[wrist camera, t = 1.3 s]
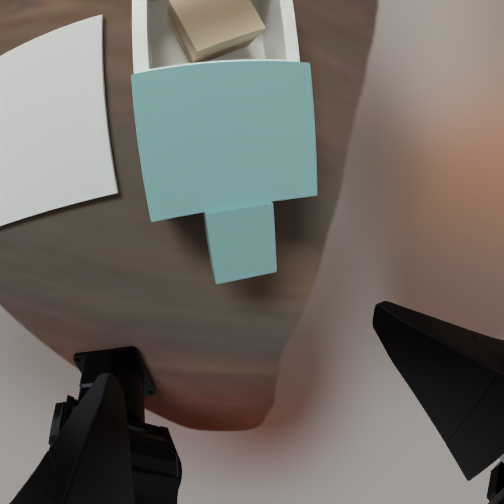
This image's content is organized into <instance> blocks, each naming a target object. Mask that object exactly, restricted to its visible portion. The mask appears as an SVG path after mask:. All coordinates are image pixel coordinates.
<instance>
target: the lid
mask: <svg viewBox="0 0 504 504" xmlns="http://www.w3.org/2000/svg"><path fill="white" fill-rule="evenodd" d="M131 81H132V94H133V105H134V115H135V124H136V132H137V140H138V148H139V155H140V162H141V168H142V174H143V180H144V186H145V192H146V198H147V203H148V208H149V213H150V218H151V222H154V221H159V220H164V219H169V218H175V217H180V216H186V215H191V214H197V213H203V216H204V223H205V230H206V236H207V243H208V249H209V256H210V262H211V268H212V273H213V276H214V279H215V282H216V284H220V283H225V282H230V281H235V280H240V279H245V278H250V277H255V276H259V275H264V274H269V273H274V272H277V264H276V244H275V225H274V208H273V203H272V201H280V200H287V199H294V198H302V197H310V196H317V162H316V138H315V120H314V105H313V92H312V80H311V69H310V63H305V62H288V61H235V62H217V63H205V64H194V65H186V66H178V67H171V68H164V69H158V70H152V71H147V72H141V73H136V74H132V75H131Z"/></svg>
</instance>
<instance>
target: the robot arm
mask: <svg viewBox="0 0 504 504" xmlns="http://www.w3.org/2000/svg"><path fill="white" fill-rule="evenodd" d="M373 328H374V330H375V331H376V333H377V335H378V337H379V339H380V340H381V342H382V344H383V346H384V348H385V350H386V351H387V353H388V355H389V357H390V358H391V360H392V362H393V363H394V365H395V366H396V368H397V369H398V371H399V372H400V373H401V375H402V377H403V378H404V379H405V381H406V382H407V384H408V385H409V387H410V388H411V390H412V391H413V393H414V394H415V396H416V397H417V399H418V400H419V402H420V404H421V405H422V407H423V408H424V410H425V411H426V413H427V414H428V416H429V417H430V419H431V421H432V422H433V424H434V425H435V427H436V429H437V430H438V432H439V433H440V435H441V436H442V438H443V440H444V441H445V443H446V445H447V447H448V448H449V450H450V452H451V453H452V455H453V457H454V458H455V460H456V462H457V463H458V465H459V467H460V468H461V470H462V472H463V474H464V475H465V477H466V479H467V480H468V481H469V480H471V479H472V478H474V477H475V476H476V475H478V474H479V473H480V472H482V471H483V470H484V469H486V468H487V467H488V466H489V465H491V464H492V463H493V462H494V461H496V460H497V459H498V458H500V459H501V461H500V462H499V463H498V464H497V465H496V466H495V468H494V469H493V470H492V471H491V475H490V482H489V487H488V493H487V498H488V500H489V501H490V502H489V503H488V504H504V340H500V339H496V338H492V337H489V336H486V335H483V334H480V333H477V332H474V331H471V330H470V331H469V330H468V329H465V328H462V327H460V326H457V325H454V324H451V323H448V322H445V321H442V320H439V319H437V318H434V317H431V316H428V315H425V314H423V313H420V312H417V311H414V310H411V309H408V308H405V307H402V306H400V305H397V304H394V303H391V302H388V301H383V302H381V303H378V304H377V305H376V306H375V309H374V316H373ZM130 351H132V352H130ZM78 358H79V359H78ZM73 360H74V362H75V363H76V365H77V367H78V368H79V370H80V372H81V373H82V376H81V380H80V392H79V397H78V400H76V399H74V397H71V396H69V395H68V396H67V399H66V402H63V403H56V406H55V410H54V415H53V420H52V425H51V431H50V437H49V445H50V448H49V451H47V453H46V454H45V456H44V457H43V459H42V460H41V462H40V464H39V465H38V467H37V468H36V470H35V471H34V472H33V474H32V475H31V476H30V478H29V479H28V481H27V482H26V483H25V484H24V486H23V487H22V488H21V490H20V491H19V492H18V494H17V495H16V496H15V498H14V499H13V500H12V502H11V503H9V504H177V496H178V489H179V486H180V483H181V478H182V466H181V462H180V458H179V456H178V454H177V451H176V449H175V446H174V444H173V441H172V438H171V436H170V433H169V430H168V428H166V427H162V426H161V427H158V426H155V425H151V424H147V423H145V417H144V415H145V414H144V396H148V395H154V394H155V393H156V389H155V387H154V385H153V383H152V381H151V379H150V376H149V374H148V372H147V370H146V368H145V366H144V364H143V362H142V359H141V357H140V355H139V353H138V350H137V349H136V348H135V347H133V346H129V347H122V348H114V349H107V350H99V351H91V352H82V353H75V354H74V357H73ZM150 390H151V391H150Z"/></svg>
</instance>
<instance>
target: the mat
mask: <svg viewBox="0 0 504 504" xmlns="http://www.w3.org/2000/svg"><path fill="white" fill-rule="evenodd" d="M118 192H119V191H118V186H117V180H116V175H115V169H114V163H113V157H112V150H111V143H110V135H109V127H108V119H107V109H106V98H105V84H104V66H103V15H98V16H95V17H91V18H88V19H85V20H82V21H79V22H76V23H73V24H70V25H67V26H64V27H62V28H59V29H56V30H54V31H51V32H49V33H46V34H44V35H42V36H39V37H37V38H35V39H33V40H31V41H28V42H26V43H24V44H22V45H20V46H18V47H16V48H14V49H12V50H10V51H9V52H7V53H5V54H3V55H1V56H0V226H2V225H5V224H8V223H11V222H14V221H17V220H20V219H23V218H26V217H30V216H33V215H36V214H40V213H43V212H46V211H50V210H53V209H57V208H60V207H64V206H68V205H71V204H75V203H79V202H83V201H87V200H91V199H95V198H99V197H103V196H107V195H112V194H116V193H118Z"/></svg>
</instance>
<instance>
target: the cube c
mask: <svg viewBox="0 0 504 504" xmlns="http://www.w3.org/2000/svg"><path fill="white" fill-rule="evenodd" d="M168 24H169V26H170V28H171V30H172V31H173V33H174V35H175V37H176V39H177V41H178V43H179V45H180V46H181V48H182V50H183V52H184V54H185V56H186V58H187V60H188V62H189V63H196V62H206V61H210V60H213V59H215V58H218V57H220V56H223V55H225V54H228V53H231V52H234V51H236V50H239V49H242V48H245V47H248V46H249V45H250V44H251V43H252V42H253V40H254V39H255V38H256V37H257V36H258V35H260V34H261V33H262V32H263V31H264V30H265V29H266V27H265V26H264V24H263V22H262V20H261V18H260V16H259V15H258V13H257V11H256V9H255V8H254V6H253V4H252V2H251V1H250V0H168Z"/></svg>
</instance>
